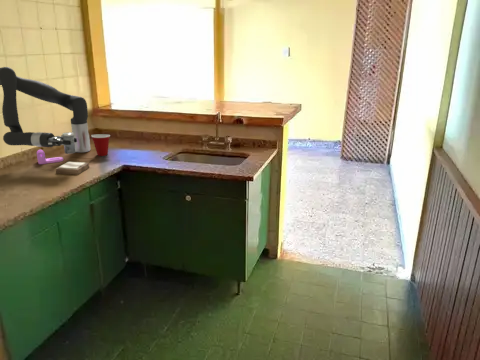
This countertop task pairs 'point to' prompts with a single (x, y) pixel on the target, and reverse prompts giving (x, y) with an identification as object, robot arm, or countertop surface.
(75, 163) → the stand
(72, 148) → the housing
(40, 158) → the bracket
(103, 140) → the plastic cup
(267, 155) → the countertop surface
